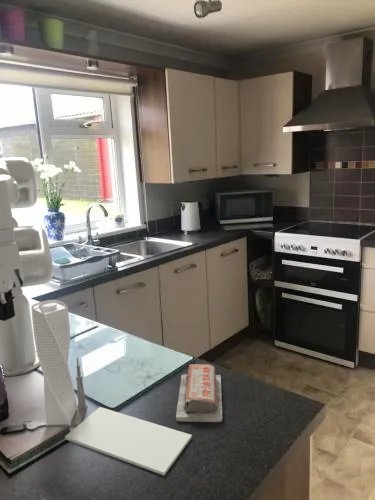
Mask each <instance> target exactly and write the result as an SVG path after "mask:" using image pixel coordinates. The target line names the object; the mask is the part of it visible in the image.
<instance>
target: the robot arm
mask: <svg viewBox="0 0 375 500" xmlns="http://www.w3.org/2000/svg"><path fill="white" fill-rule="evenodd" d="M36 183H37V179H36V172H35V169H34V166H33V164H32V162H31V161H30V160H29V159H27V158H25V157H21V156H20V157H0V365H1V366H2V369H3V374H4V376H3V377H11V376H12V377H13V376H19V375H23V374H26V373H30V372H32V371H33V370H35V369H36V368H38V367H39V366H40V362H39V359H38V355H37V351H36V345H35V338H34V331H33V321H32V313H31V308H30V307H31V306H30V303H29V300H28V298H27V297H26V295H24V293H23V289H22V288H25V287H26V288H27V287H33V286H39V285H45V284H47V283H49V282H51V280H52V279H53V276H54V263H53V259H52V254H51V250H50V243H49V240H48V235H47V233H46V231H45V229H43V228H42V227H41V226H39V225H28V226H26V225H24V226H19V224H18V221H17V220H16V218H14V217H13V213H12V209H13V210H14V209H25V208H26V209H27V208H31V207H33V206H35V204H36V203H37V199H38V197H37V196H38V191H37V184H36Z"/></svg>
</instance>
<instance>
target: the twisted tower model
mask: <svg viewBox="0 0 375 500" xmlns="http://www.w3.org/2000/svg"><path fill="white" fill-rule="evenodd" d="M30 307H31V308H30V310H31V322H32V330H33V338H34V346H35V351H36V352H37V355H38V359H39V362H40V365H39V366H40V369H41V372H42V374H43V393H44V394H43V396H44V412H45V413H44V414H45V424H46V425H45V426H46V428H66V427H67V428H69V427H70V428H71V427H73V428H76V427H77V426H78V425H79V424H80V423H82V422H83V419H84V417H85V414H86V411H87V409H88V404H87V403H86V396H85V395H86V392H85V387H84V381H83V376H84V375H83V374H82V373H81V364H80V363H79V357H78V356H77V357H76V365H75V366H76V367H75V368H76V375H75V380H76V391H75V388H74V383H73V377H72V374H71V371H70V367H69V362H68V361H69V355H70V346H71V344H70V343H71V326H70V317H69V316H70V315H69V307H68V306H67V304H65V303H64V302H63V301H60V300H57V299H56V300H55V299H48V300H44V301H40V302H36V303H34V304H32V305H31V306H30ZM76 393H77V394H76ZM76 397H77V399H76ZM77 402H78V403H77Z"/></svg>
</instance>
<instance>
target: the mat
mask: <svg viewBox="0 0 375 500" xmlns="http://www.w3.org/2000/svg"><path fill="white" fill-rule="evenodd" d="M192 437H193V434H189V433H187V432H184V431H180V430H178V429H177V430H176V429H174V428H170V427H167V426H164V425H160V424H157V423H154V422H151V421H147V420H144V419H140V418H137V417H135V416H130V415H129V414H128V415H127V414H125V413H121V412H118V411H114V410H112V409H108V408H105V407H101V406H99V407H98V408H97V409H95V410H94V411H93V412H92V413H90V414H89V415H88V416H87V417H86V418H85V419H84V420H82V422H81V423H80V424H79V425H78V426H76V427H73V429H72V430H71V431H70V432H68V433H67V434H66V435H65V436H64V439H65V440H67V441H69V442H73V443H74V444H77V445H79V446H83V447H86V448H88V449H91V450H93V451H97V452H99V453H102V454H104V455H106V456H107V455H108V456H111V457H113V458H115V459H118V460H120V461H123V462H126V463H129V464H131V465H134V466H137V467H140V468H143V469H144V470H145V469H146V470H148V471H151V472H153V473H157V474H158V475H162V476H165V475H166V474H167V472H168V471H169V469H170V468H171V467H172V466H173V464H174V463H175V461H176V460H177V459H178V457H180V455H181V453H182V452H183V450H184V449H185V448H186V446H187V445H188V444H189V443H190V441H191V440H192V439H193V438H192Z"/></svg>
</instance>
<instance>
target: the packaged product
mask: <svg viewBox="0 0 375 500" xmlns="http://www.w3.org/2000/svg"><path fill="white" fill-rule="evenodd" d="M222 395H223V394H222V375H221V374H216V368H215V366H214V365H212V364H210V363H203V364H201V363H195V364H194V363H193V364H191V363H190V364H189V365H188V370H187V373H182V374H181V376H180V384H179V392H178V399H177V405H176V412H175V420H176V422H185V423H187V422H190V423H191V422H192V423H193V422H194V423H195V422H196V423H221V422H222V421H223V402H222V401H223V400H222Z"/></svg>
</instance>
